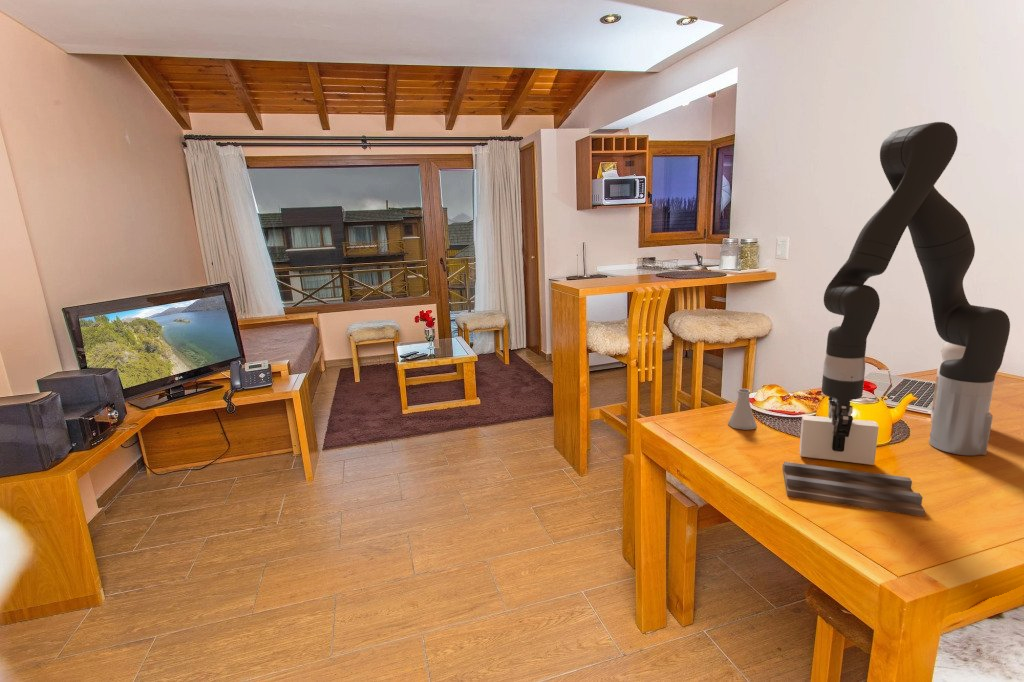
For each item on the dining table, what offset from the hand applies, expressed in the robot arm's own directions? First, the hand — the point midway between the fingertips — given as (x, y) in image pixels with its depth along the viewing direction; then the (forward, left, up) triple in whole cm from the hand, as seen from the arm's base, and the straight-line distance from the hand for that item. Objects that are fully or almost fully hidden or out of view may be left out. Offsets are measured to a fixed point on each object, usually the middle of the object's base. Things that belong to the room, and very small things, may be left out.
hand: (836, 446), depth 111 cm
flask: (+19, -15, -3) cm, 25 cm away
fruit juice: (-31, -32, -3) cm, 44 cm away
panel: (0, 0, -3) cm, 3 cm away
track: (0, +14, -3) cm, 14 cm away
